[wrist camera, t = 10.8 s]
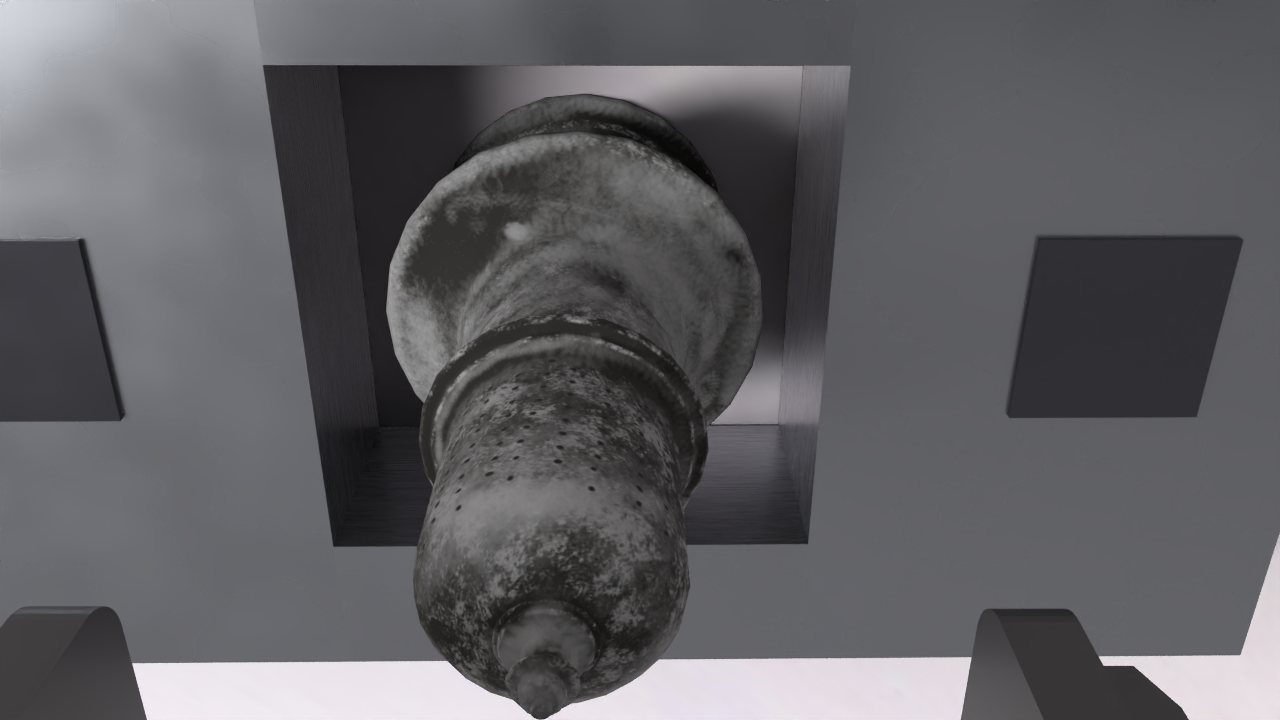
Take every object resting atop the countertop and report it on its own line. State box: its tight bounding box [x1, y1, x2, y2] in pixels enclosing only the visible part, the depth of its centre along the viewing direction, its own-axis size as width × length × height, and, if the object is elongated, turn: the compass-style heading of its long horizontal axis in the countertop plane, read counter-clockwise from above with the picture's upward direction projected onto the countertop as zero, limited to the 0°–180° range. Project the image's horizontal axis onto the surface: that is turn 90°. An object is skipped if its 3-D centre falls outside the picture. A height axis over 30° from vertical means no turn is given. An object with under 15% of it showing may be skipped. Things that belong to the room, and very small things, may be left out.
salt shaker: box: [386, 94, 763, 720], centre depth 15 cm, size 6×6×12 cm
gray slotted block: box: [0, 0, 1280, 663], centre depth 19 cm, size 24×13×4 cm, turn 90°
